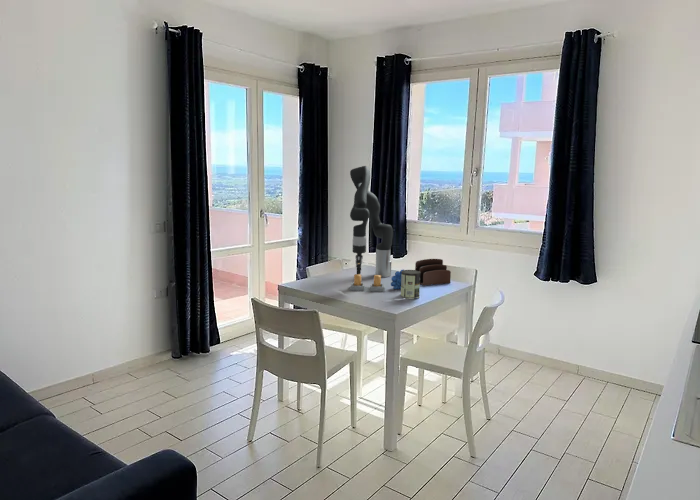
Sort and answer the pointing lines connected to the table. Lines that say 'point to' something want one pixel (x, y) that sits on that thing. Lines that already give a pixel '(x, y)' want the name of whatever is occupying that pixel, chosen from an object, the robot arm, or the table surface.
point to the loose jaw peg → (357, 280)
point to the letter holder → (432, 271)
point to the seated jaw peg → (377, 280)
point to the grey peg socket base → (367, 288)
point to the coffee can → (410, 284)
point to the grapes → (396, 280)
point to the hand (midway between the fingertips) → (358, 272)
